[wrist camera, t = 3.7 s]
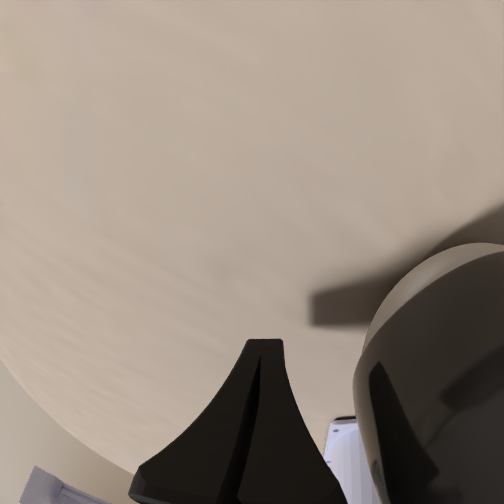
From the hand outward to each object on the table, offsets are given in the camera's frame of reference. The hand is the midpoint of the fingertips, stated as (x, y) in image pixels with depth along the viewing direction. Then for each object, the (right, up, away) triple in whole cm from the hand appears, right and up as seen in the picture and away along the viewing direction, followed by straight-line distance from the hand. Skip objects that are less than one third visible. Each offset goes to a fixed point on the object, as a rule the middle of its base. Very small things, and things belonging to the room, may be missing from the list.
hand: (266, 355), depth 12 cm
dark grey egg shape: (+9, +2, +1) cm, 9 cm away
